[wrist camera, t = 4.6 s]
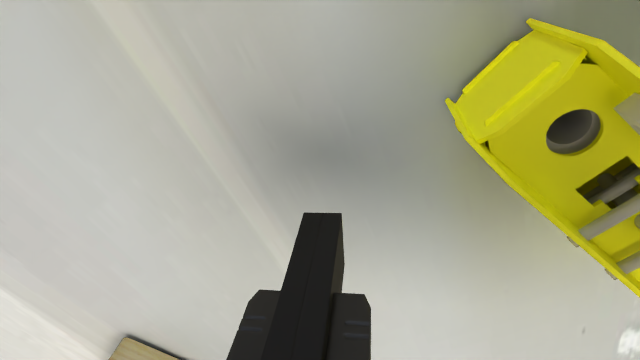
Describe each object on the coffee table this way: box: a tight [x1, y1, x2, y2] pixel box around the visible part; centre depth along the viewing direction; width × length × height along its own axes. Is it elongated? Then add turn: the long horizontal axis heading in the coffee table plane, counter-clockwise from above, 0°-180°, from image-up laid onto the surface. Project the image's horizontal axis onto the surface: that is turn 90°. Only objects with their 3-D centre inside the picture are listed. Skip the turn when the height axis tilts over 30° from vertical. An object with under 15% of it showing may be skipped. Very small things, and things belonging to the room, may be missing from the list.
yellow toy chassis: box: [445, 18, 640, 297], centre depth 16 cm, size 16×6×8 cm, turn 53°
